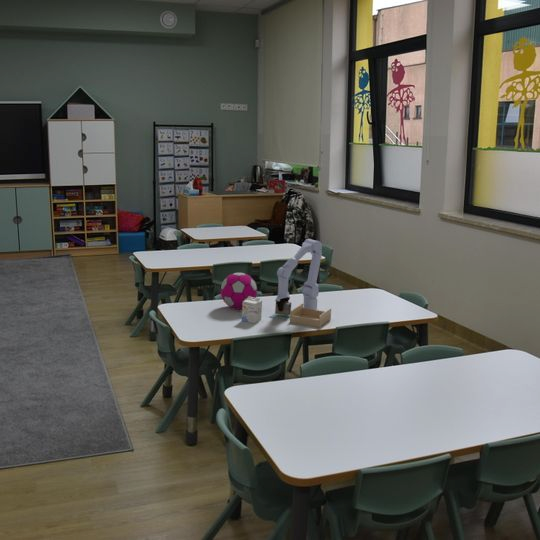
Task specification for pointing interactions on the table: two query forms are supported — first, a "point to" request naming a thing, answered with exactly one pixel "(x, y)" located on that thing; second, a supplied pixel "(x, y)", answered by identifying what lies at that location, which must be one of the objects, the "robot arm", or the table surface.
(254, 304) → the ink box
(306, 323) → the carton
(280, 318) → the teal mat
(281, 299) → the robot arm
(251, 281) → the soccer ball
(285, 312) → the walnut block
